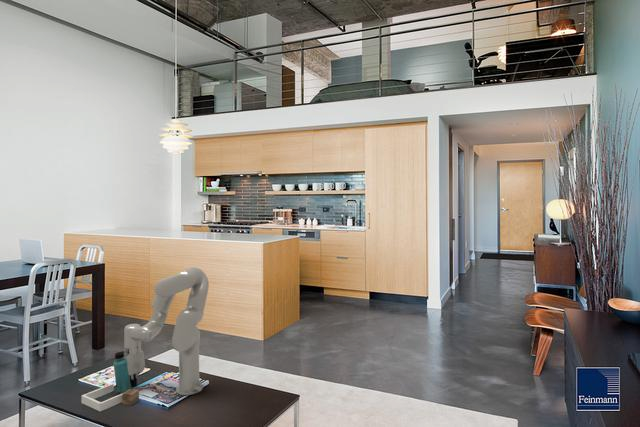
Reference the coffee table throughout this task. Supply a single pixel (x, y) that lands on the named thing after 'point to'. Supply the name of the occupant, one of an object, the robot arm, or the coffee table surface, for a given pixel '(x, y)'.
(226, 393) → the coffee table surface
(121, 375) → the beverage bottle
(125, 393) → the walnut block
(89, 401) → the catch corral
